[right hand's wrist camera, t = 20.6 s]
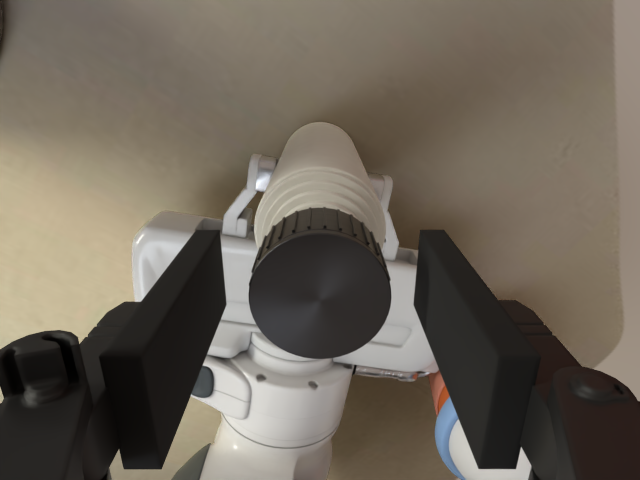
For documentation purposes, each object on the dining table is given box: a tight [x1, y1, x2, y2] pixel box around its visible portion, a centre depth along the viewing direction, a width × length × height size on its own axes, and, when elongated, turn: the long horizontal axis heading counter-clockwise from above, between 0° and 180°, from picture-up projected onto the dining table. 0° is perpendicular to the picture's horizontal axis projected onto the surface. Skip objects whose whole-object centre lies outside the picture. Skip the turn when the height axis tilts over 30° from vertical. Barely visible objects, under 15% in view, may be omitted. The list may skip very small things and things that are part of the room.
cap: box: [249, 207, 391, 359], centre depth 13 cm, size 4×4×2 cm
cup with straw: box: [428, 370, 531, 480], centre depth 28 cm, size 9×9×18 cm
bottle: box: [254, 122, 386, 250], centre depth 22 cm, size 5×5×20 cm
